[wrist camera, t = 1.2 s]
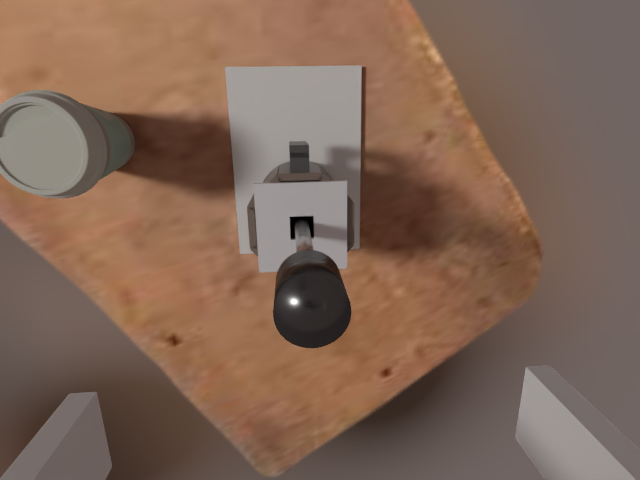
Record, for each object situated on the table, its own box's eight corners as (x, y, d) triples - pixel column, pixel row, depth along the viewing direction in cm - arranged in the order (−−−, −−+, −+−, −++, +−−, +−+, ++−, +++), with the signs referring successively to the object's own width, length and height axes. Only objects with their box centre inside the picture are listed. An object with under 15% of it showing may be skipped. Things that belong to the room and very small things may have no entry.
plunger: (279, 205, 33) (271, 279, 18) (322, 203, 34) (351, 275, 18) (281, 245, 34) (275, 350, 19) (322, 244, 35) (351, 345, 19)
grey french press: (254, 140, 42) (241, 147, 31) (338, 138, 43) (355, 144, 31) (261, 240, 45) (251, 280, 34) (338, 237, 46) (354, 275, 35)
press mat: (225, 67, 40) (225, 66, 40) (360, 66, 41) (361, 65, 41) (240, 252, 46) (240, 253, 46) (358, 247, 47) (359, 248, 47)
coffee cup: (151, 106, 41) (97, 100, 30) (146, 187, 43) (94, 210, 32) (64, 90, 40) (-27, 77, 28) (63, 173, 42) (-21, 192, 31)
